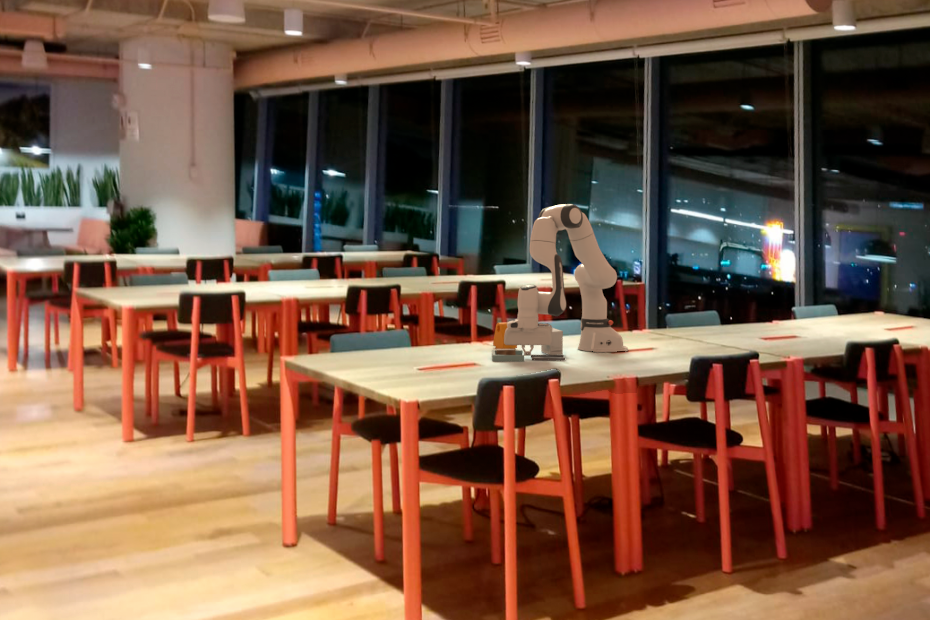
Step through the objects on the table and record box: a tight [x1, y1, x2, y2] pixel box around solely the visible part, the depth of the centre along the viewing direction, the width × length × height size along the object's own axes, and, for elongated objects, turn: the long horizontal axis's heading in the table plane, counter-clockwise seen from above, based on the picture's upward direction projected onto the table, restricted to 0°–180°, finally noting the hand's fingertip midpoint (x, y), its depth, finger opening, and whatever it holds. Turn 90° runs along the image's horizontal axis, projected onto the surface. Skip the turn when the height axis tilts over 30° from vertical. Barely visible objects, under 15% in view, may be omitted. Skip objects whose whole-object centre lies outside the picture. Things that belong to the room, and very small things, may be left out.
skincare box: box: [540, 327, 564, 355], centre depth 452 cm, size 10×6×10 cm, turn 18°
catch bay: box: [491, 349, 525, 362], centre depth 435 cm, size 13×14×2 cm
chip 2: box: [506, 348, 516, 355], centre depth 435 cm, size 4×4×4 cm
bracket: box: [492, 321, 518, 350], centre depth 463 cm, size 11×7×12 cm, turn 24°
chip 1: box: [495, 348, 506, 355], centre depth 435 cm, size 4×4×4 cm
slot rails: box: [530, 354, 566, 362], centre depth 435 cm, size 14×8×1 cm, turn 90°
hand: (527, 355), depth 435 cm, fingers closed
